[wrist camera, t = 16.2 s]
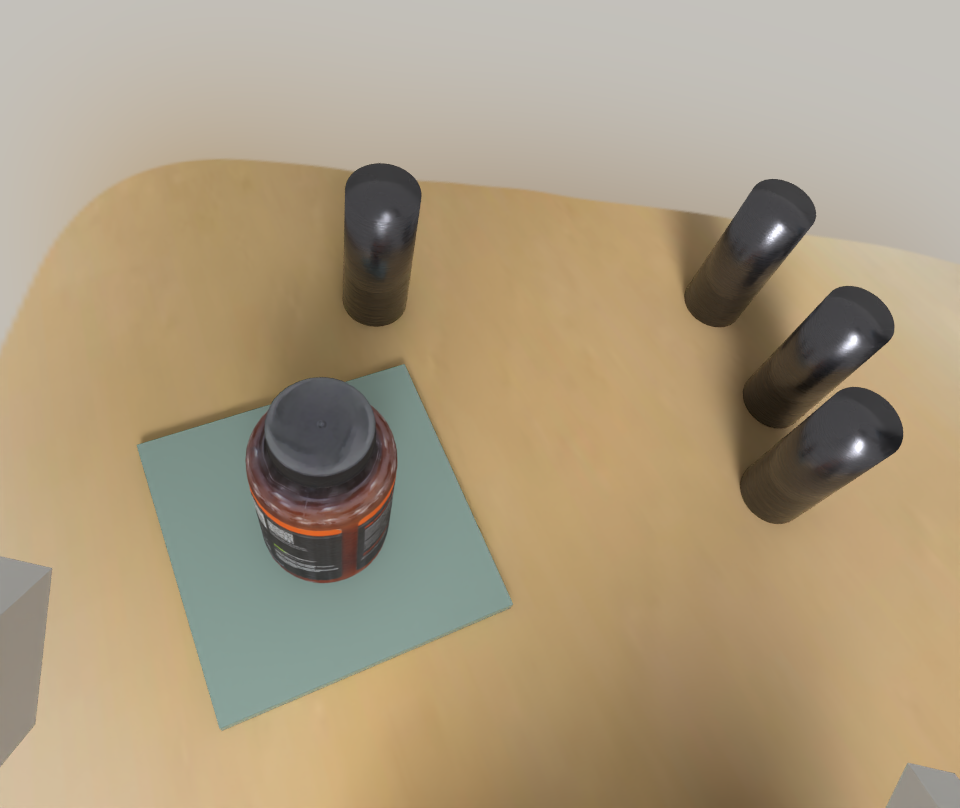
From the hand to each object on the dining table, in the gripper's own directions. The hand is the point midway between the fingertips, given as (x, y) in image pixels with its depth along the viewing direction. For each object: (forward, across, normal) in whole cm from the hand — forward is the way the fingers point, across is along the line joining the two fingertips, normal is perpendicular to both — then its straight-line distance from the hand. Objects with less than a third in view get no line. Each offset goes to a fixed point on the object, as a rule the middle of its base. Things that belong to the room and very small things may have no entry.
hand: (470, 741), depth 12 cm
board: (+26, -6, -10) cm, 28 cm away
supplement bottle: (+25, -5, -10) cm, 28 cm away
